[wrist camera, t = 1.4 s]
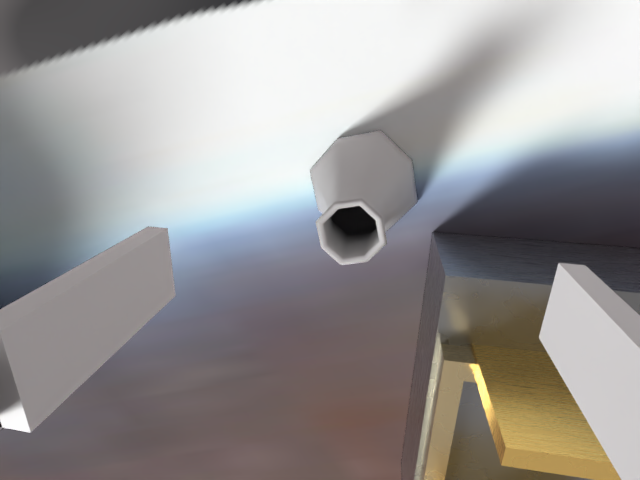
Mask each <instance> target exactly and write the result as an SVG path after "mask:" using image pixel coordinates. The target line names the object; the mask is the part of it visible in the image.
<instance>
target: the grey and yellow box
mask: <svg viewBox="0 0 640 480" xmlns="http://www.w3.org/2000/svg"><path fill="white" fill-rule="evenodd" d="M558 263H566V264H578V265H586V266H587V267H588V268H589V269H590V270H591V271H592V272H593V273H594V274H595V275H596V276H598V277H599V278H600V279H601V280H602V281H603V282H604V283H605V284H606V285H607V286H608V287H609V288H611V289H612V290H613V291H614V292H615V293H616V294H617V295H618V296H619V297H620V298H621V299H623V300H624V301H625V302H626V303H627V304H628V305H629V306H630V307H631V308H632V309H633V310H634V311H636V312H637V313H638V314H639V315H640V248H631V247H618V246H605V245H592V244H579V243H566V242H553V241H540V240H528V239H515V238H502V237H489V236H476V235H463V234H450V233H437V232H432V239H431V246H430V254H429V261H428V268H427V276H426V283H425V290H424V298H423V305H422V312H421V320H420V327H419V335H418V342H417V349H416V357H415V364H414V371H413V379H412V386H411V393H410V401H409V408H408V415H407V423H406V430H405V437H404V445H403V452H402V459H401V480H621V478H620V477H619V475H618V473H617V471H616V470H615V468H614V466H613V465H612V463H611V461H610V459H609V458H608V456H607V454H606V452H605V451H604V449H603V447H602V446H601V444H600V442H599V440H598V439H597V437H596V435H595V434H594V432H593V430H592V428H591V427H590V425H589V423H588V422H587V420H586V418H585V416H584V415H583V413H582V411H581V410H580V408H579V406H578V404H577V403H576V401H575V399H574V397H573V396H572V394H571V392H570V391H569V389H568V387H567V385H566V384H565V382H564V380H563V379H562V377H561V375H560V373H559V372H558V370H557V368H556V367H555V365H554V363H553V361H552V360H551V358H550V356H549V354H548V353H547V351H546V349H545V348H544V346H543V344H542V342H541V341H540V339H539V335H540V331H541V327H542V323H543V320H544V316H545V312H546V308H547V305H548V301H549V297H550V293H551V289H552V286H553V282H554V278H555V274H556V271H557V267H558Z"/></svg>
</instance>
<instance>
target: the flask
mask: <svg viewBox="0 0 640 480" xmlns="http://www.w3.org/2000/svg"><path fill="white" fill-rule="evenodd" d="M310 174H311V179H312V184H313V188H314V193H315V198H316V202H317V207H318V210H319V211H320V212H321V213H322V215H321V216H320V217H319V219H318V220H317V221H316V226H317V230H318V235H319V240H320V244H321V248H322V249H323V250H324V251H326V252H327V253H328V254H329V255H330V256H331V257H332V258H333V259H335V260H336V261H337V262H338V263H339V264H340V265H346V264H354V263H362V262H368V261H369V260H370V259H371V258H372V257H373V256H374V255H375V254H376V253H377V252H379V251H380V250H381V249H382V248H383V247H384V246H385V245H386V244H387V240H386V233H385V231H388V230H389V229H390V228H391V227H392V226H393V225H394V224H395V223H396V222H397V221H398V220H399V219H400V218H401V217H402V216H404V215H405V214H406V213H407V212H408V211H409V210H410V209H411V208H412V207H413V206H414V205H415V204H416V203H417V202H418V201H417V193H416V186H415V178H414V170H413V163H412V160H411V159H410V158H409V157H408V156H407V155H406V154H405V153H404V152H403V151H402V150H401V149H400V148H399V147H398V146H397V145H396V144H395V143H394V142H393V141H392V140H390V139H389V138H388V137H387V136H386V135H385V134H384V133H383V132H382V131H381V130H378V131H373V132H368V133H363V134H358V135H353V136H348V137H343V138H338V139H337V140H336V141H335V142H334V143H333V144H332V145H331V146H330V148H329V149H328V150H327V151H326V152H325V153H324V154H323V155H322V157H321V158H320V159H319V160H318V161H317V162H316V163H315V165H314V166H313V167H312V168H311V169H310Z"/></svg>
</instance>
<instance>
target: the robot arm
mask: <svg viewBox="0 0 640 480" xmlns="http://www.w3.org/2000/svg"><path fill="white" fill-rule="evenodd" d="M174 297H175V288H174V279H173V271H172V262H171V253H170V245H169V236H168V228H158V227H146V228H145V229H143V230H141V231H139V232H137V233H136V234H134V235H132V236H130V237H129V238H127V239H125V240H123V241H121V242H120V243H118V244H116V245H114V246H112V247H111V248H109V249H107V250H105V251H104V252H102V253H100V254H98V255H96V256H95V257H93V258H91V259H89V260H87V261H86V262H84V263H82V264H80V265H78V266H77V267H75V268H73V269H71V270H70V271H68V272H66V273H64V274H62V275H61V276H59V277H57V278H55V279H53V280H52V281H50V282H48V283H46V284H45V285H43V286H41V287H39V288H37V289H36V290H33V291H31V292H30V293H28V294H26V295H24V296H23V297H21V298H19V299H17V300H16V301H14V302H12V303H10V304H8V305H6V306H5V307H3V308H2V309H0V430H2V429H4V428H8V429H14V430H19V431H25V432H30V433H31V432H32V431H33V430H34V429H35V428H36V427H37V426H38V425H39V424H40V423H42V422H43V421H44V420H45V419H46V418H47V417H48V416H49V415H50V414H51V413H52V412H53V411H54V410H55V409H56V408H57V407H58V406H59V405H61V404H62V403H63V402H64V401H65V400H66V399H67V398H68V397H69V396H70V395H71V394H72V393H73V392H74V391H75V390H76V389H77V388H78V387H80V386H81V385H82V384H83V383H84V382H85V381H86V380H87V379H88V378H89V377H90V376H91V375H92V374H93V373H94V372H95V371H96V370H98V369H99V368H100V367H101V366H102V365H103V364H104V363H105V362H106V361H107V360H108V359H109V358H110V357H111V356H112V355H113V354H114V353H115V352H117V351H118V350H119V349H120V348H121V347H122V346H123V345H124V344H125V343H126V342H127V341H128V340H129V339H130V338H131V337H132V336H133V335H135V334H136V333H137V332H138V331H139V330H140V329H141V328H142V327H143V326H144V325H145V324H146V323H147V322H148V321H149V320H150V319H151V318H152V317H154V316H155V315H156V314H157V313H158V312H159V311H160V310H161V309H162V308H163V307H164V306H165V305H166V304H167V303H168V302H169V301H170V300H171V299H173V298H174ZM539 339H540V341H541V342H542V344H543V346H544V348H545V349H546V351H547V353H548V354H549V356H550V358H551V360H552V361H553V363H554V365H555V367H556V368H557V370H558V372H559V373H560V375H561V377H562V379H563V380H564V382H565V384H566V385H567V387H568V389H569V391H570V392H571V394H572V396H573V397H574V399H575V401H576V403H577V404H578V406H579V408H580V410H581V411H582V413H583V415H584V416H585V418H586V420H587V422H588V423H589V425H590V427H591V428H592V430H593V432H594V434H595V435H596V437H597V439H598V440H599V442H600V444H601V446H602V447H603V449H604V451H605V452H606V454H607V456H608V458H609V459H610V461H611V463H612V465H613V466H614V468H615V470H616V471H617V473H618V475H619V477H620V478H621V480H640V315H639V314H638V313H637V312H636V311H634V310H633V309H632V308H631V307H630V306H629V305H628V304H627V303H626V302H625V301H624V300H623V299H621V298H620V297H619V296H618V295H617V294H616V293H615V292H614V291H613V290H612V289H611V288H609V287H608V286H607V285H606V284H605V283H604V282H603V281H602V280H601V279H600V278H599V277H598V276H596V275H595V274H594V273H593V272H592V271H591V270H590V269H589V268H588V267H587V266H586V265H578V264H566V263H558V267H557V271H556V274H555V278H554V282H553V286H552V289H551V293H550V297H549V301H548V305H547V308H546V312H545V316H544V320H543V323H542V327H541V331H540V335H539Z"/></svg>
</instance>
